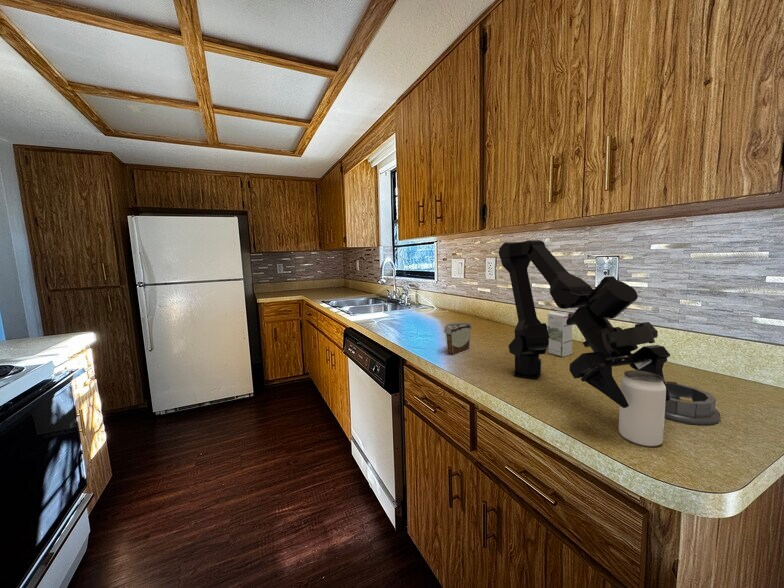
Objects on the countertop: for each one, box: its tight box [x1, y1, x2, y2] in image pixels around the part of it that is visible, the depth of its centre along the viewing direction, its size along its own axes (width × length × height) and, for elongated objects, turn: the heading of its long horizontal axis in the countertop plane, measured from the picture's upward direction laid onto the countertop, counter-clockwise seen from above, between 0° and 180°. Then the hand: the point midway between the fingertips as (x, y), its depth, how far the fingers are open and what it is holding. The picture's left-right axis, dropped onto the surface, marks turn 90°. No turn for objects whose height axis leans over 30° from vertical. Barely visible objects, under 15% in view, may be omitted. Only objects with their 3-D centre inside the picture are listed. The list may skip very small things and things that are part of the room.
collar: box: [664, 378, 721, 426], centre depth 67 cm, size 13×13×5 cm
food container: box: [443, 322, 473, 356], centre depth 115 cm, size 12×6×10 cm, turn 130°
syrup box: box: [546, 310, 574, 358], centre depth 107 cm, size 6×6×14 cm
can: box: [618, 369, 666, 448], centre depth 57 cm, size 6×6×12 cm
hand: (647, 403), depth 56 cm, fingers open, 9 cm apart
